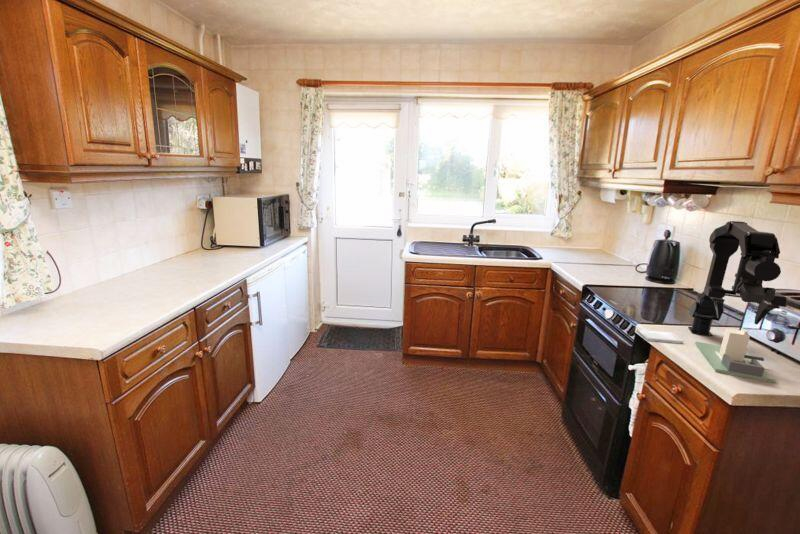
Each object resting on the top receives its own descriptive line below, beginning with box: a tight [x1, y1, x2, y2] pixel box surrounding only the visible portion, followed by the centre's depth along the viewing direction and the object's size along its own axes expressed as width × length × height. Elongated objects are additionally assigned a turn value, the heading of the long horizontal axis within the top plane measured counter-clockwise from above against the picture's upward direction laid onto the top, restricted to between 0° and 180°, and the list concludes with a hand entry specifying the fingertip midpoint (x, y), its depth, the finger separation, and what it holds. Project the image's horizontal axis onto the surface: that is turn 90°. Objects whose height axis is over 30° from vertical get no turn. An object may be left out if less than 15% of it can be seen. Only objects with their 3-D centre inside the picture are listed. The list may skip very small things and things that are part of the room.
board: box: [694, 341, 776, 383], centre depth 124 cm, size 22×14×2 cm, turn 156°
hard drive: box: [635, 329, 684, 344], centre depth 141 cm, size 2×8×12 cm
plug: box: [719, 327, 765, 362], centre depth 122 cm, size 4×10×10 cm, turn 66°
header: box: [721, 354, 765, 377], centre depth 116 cm, size 6×8×3 cm
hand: (736, 321), depth 119 cm, fingers open, 9 cm apart
